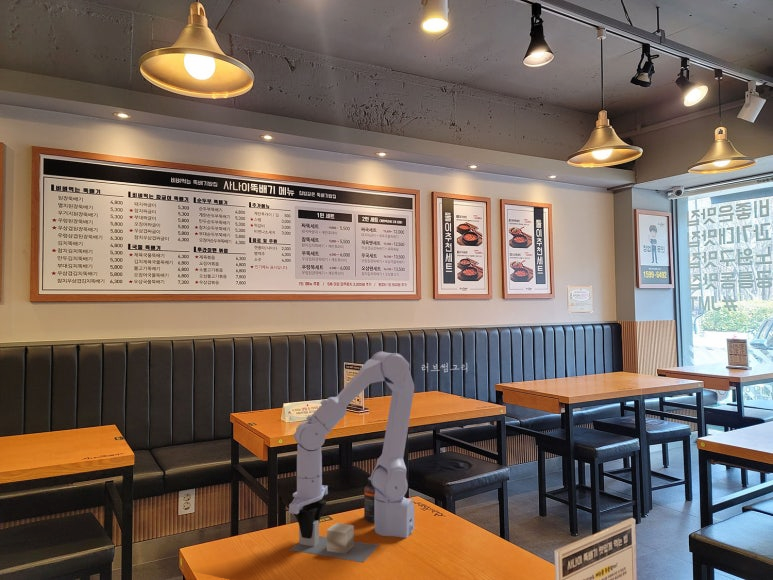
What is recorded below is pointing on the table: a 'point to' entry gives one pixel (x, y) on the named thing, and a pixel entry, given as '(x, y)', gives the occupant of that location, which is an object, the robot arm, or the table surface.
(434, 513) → the table surface
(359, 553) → the gray plate with post
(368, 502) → the supplement bottle
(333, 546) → the birch block
